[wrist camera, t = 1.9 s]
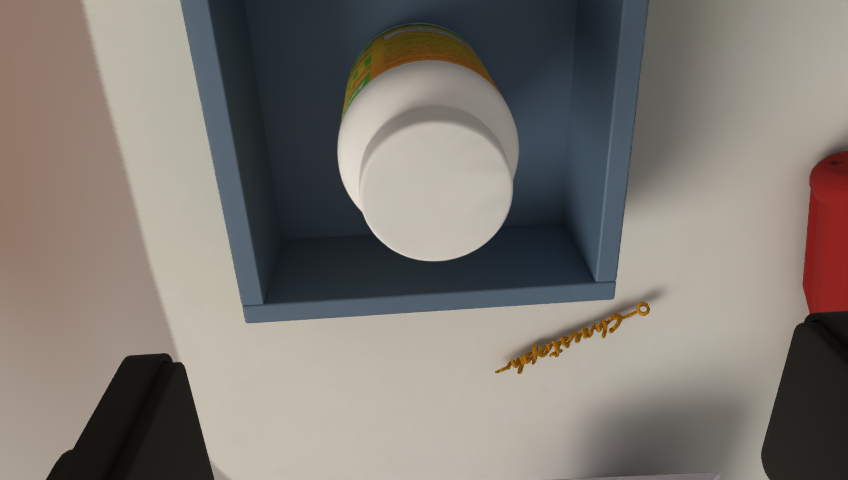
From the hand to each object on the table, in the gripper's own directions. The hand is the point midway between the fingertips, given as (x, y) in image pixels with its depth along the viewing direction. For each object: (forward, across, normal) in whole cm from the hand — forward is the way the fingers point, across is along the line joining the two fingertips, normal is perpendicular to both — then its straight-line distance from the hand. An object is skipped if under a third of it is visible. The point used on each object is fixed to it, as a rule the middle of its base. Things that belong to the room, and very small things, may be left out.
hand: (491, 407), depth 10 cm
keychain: (+18, -6, +12) cm, 23 cm away
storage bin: (+18, 0, 0) cm, 18 cm away
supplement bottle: (+18, 0, 0) cm, 18 cm away
